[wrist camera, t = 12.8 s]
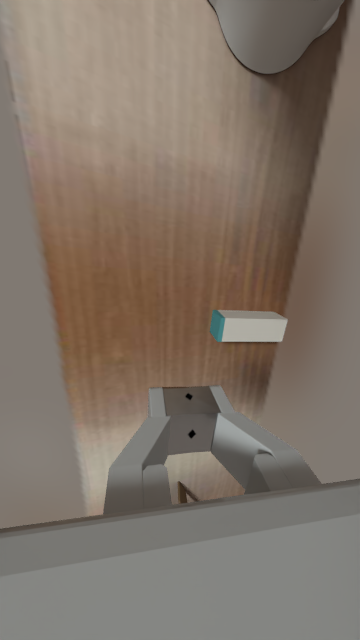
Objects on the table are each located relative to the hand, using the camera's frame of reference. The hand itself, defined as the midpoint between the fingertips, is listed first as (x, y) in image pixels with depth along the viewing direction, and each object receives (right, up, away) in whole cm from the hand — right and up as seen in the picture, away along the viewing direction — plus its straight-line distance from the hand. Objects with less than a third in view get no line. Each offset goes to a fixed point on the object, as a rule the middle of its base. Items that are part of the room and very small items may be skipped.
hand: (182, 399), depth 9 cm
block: (+6, +2, +32) cm, 32 cm away
